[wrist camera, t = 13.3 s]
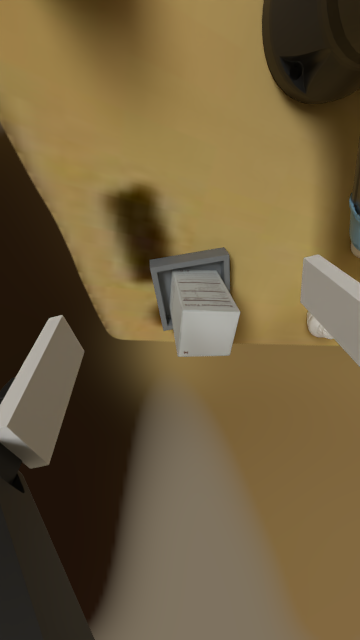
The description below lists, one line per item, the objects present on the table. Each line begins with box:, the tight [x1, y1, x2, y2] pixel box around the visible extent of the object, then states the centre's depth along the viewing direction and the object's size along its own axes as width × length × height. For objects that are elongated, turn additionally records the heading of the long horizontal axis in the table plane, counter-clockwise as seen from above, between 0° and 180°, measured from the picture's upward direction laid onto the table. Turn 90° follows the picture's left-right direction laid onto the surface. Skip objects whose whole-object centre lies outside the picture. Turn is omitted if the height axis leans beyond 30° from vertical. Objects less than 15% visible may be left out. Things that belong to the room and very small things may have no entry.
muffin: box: [307, 311, 334, 339], centre depth 46 cm, size 6×6×7 cm
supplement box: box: [170, 269, 240, 357], centre depth 37 cm, size 7×7×13 cm
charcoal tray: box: [150, 247, 230, 331], centre depth 42 cm, size 12×12×3 cm
